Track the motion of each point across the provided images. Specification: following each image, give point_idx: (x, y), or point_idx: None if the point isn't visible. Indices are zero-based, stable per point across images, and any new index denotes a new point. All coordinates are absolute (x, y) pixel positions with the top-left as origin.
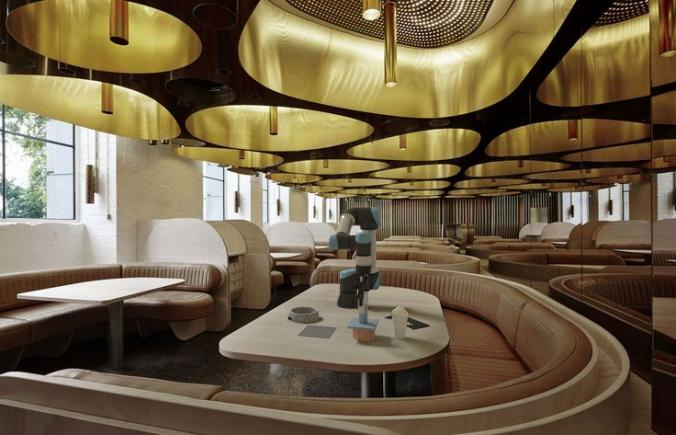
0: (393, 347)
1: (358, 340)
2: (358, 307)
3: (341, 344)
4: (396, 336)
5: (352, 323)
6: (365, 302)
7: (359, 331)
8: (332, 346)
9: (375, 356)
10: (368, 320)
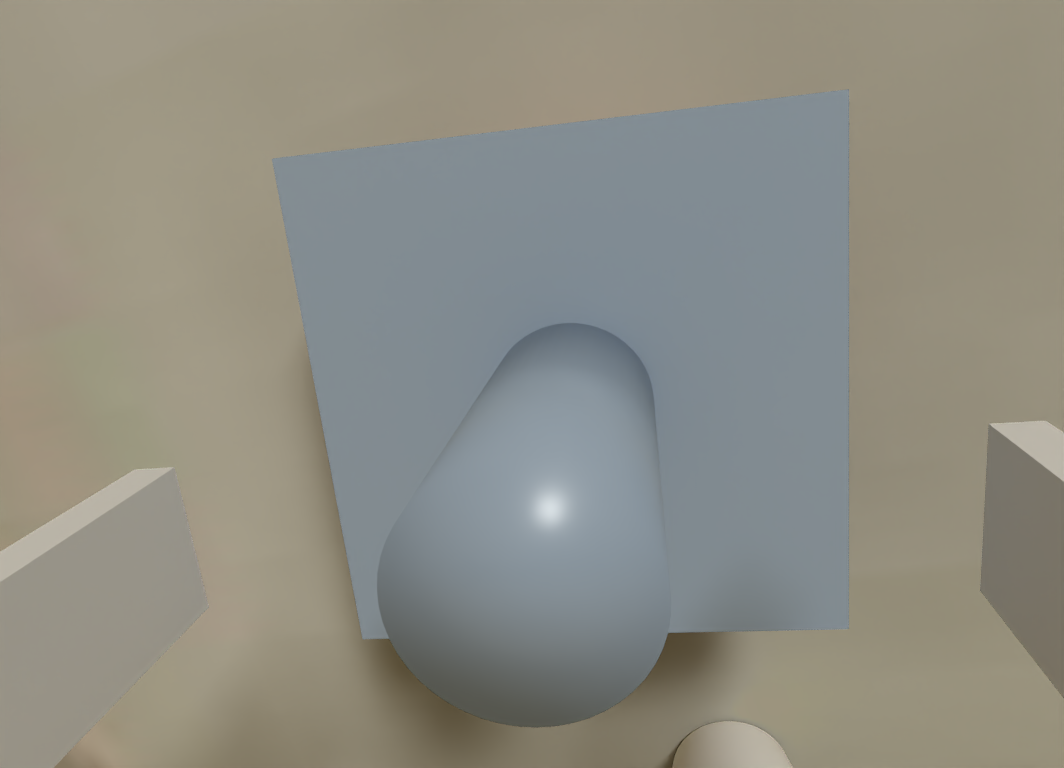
0: (403, 718)
1: None
2: (29, 547)
3: (233, 115)
4: (680, 754)
5: (455, 210)
6: (1023, 553)
7: None
8: (119, 15)
9: None
10: (739, 469)
